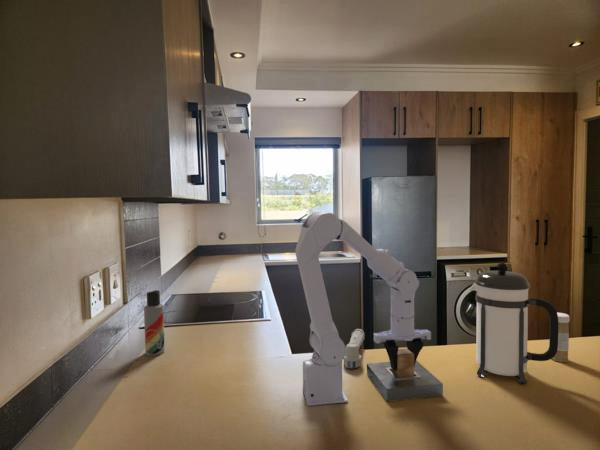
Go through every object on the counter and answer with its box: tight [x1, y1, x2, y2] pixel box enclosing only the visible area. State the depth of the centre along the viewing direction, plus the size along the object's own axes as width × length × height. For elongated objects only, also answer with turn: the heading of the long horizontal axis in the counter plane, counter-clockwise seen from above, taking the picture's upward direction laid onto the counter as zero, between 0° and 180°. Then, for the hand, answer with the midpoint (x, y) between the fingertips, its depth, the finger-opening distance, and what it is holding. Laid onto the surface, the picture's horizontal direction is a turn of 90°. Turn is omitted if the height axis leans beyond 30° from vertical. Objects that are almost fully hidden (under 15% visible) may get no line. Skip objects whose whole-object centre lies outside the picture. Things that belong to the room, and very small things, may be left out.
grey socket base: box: [366, 359, 444, 402], centre depth 93 cm, size 14×14×3 cm
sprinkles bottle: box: [551, 311, 571, 363], centre depth 106 cm, size 5×5×14 cm
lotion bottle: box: [143, 289, 166, 357], centre depth 116 cm, size 6×6×20 cm
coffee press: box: [469, 262, 558, 386], centre depth 97 cm, size 17×16×30 cm
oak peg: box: [392, 347, 414, 378], centre depth 92 cm, size 4×4×7 cm
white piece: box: [343, 328, 366, 369], centre depth 114 cm, size 5×7×25 cm
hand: (402, 368), depth 92 cm, fingers closed on oak peg, 4 cm apart
